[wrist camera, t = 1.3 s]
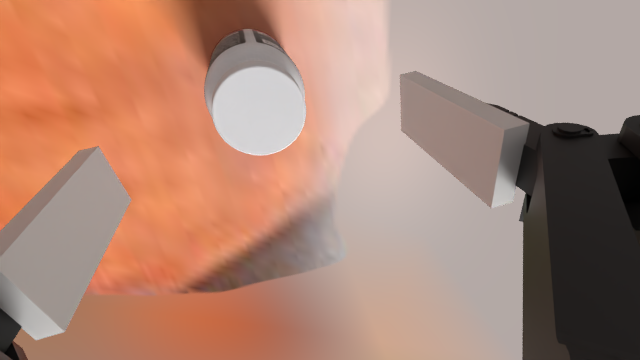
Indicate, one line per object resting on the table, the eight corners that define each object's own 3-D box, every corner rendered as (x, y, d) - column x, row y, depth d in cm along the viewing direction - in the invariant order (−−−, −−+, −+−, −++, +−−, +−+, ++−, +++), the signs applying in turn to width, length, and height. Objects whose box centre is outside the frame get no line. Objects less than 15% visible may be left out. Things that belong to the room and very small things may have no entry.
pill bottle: (220, 110, 25) (213, 172, 17) (201, 31, 22) (182, 60, 14) (292, 100, 26) (318, 155, 18) (284, 24, 23) (311, 47, 15)
